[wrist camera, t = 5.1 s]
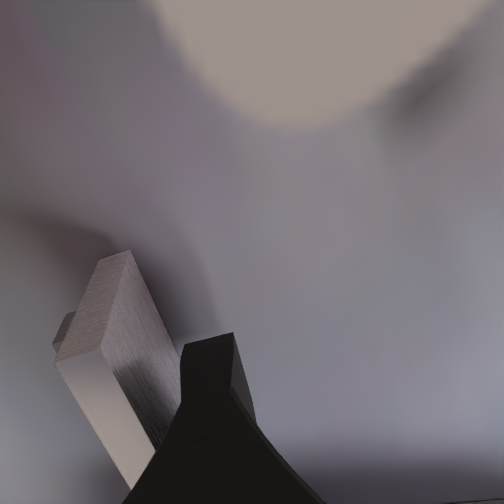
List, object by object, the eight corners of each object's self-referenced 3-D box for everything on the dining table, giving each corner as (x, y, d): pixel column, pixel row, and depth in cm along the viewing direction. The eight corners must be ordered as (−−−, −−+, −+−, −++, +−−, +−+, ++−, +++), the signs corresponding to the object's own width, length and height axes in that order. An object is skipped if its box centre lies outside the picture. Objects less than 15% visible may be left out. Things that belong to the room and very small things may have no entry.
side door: (73, 265, 10) (11, 380, 6) (134, 246, 10) (105, 351, 6) (210, 527, 14) (217, 684, 10) (254, 513, 14) (275, 666, 10)
